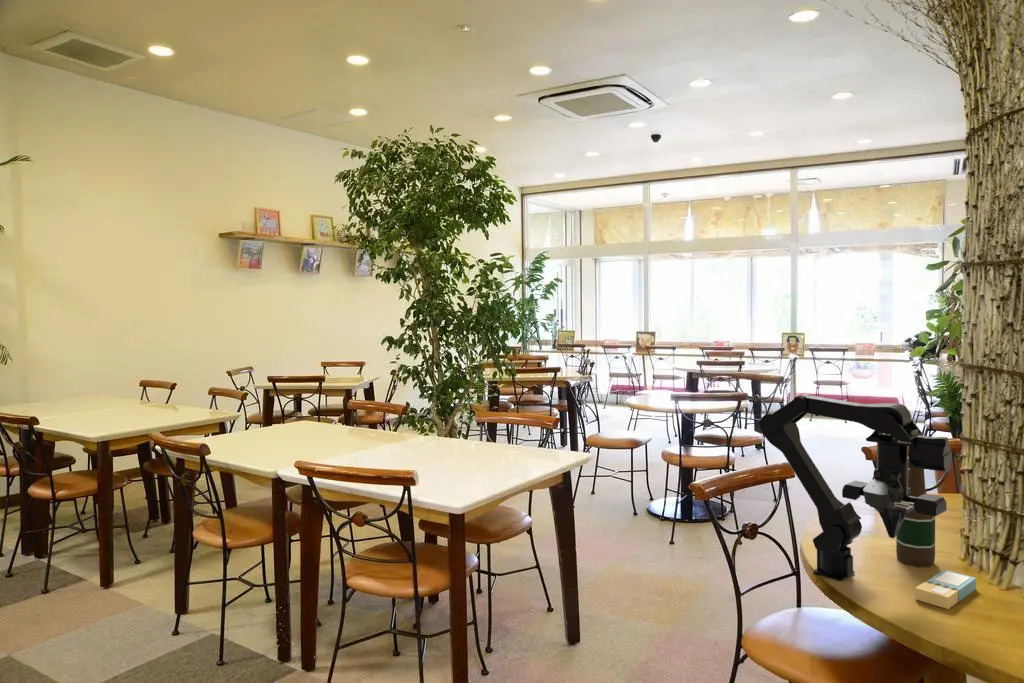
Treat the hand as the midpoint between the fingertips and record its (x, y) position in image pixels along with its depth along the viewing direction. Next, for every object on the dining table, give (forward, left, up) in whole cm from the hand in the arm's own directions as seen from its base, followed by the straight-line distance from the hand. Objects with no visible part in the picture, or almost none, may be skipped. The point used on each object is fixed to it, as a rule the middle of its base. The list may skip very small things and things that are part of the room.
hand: (892, 537), depth 145 cm
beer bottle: (-3, +19, -11) cm, 22 cm away
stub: (+9, 0, -11) cm, 14 cm away
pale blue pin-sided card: (+9, +8, -11) cm, 16 cm away
